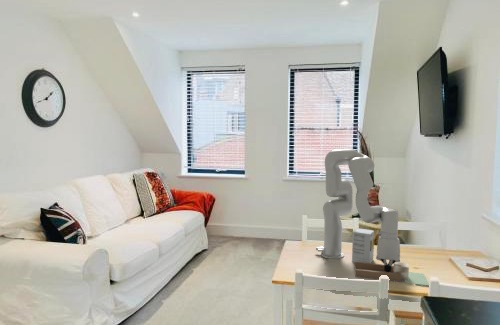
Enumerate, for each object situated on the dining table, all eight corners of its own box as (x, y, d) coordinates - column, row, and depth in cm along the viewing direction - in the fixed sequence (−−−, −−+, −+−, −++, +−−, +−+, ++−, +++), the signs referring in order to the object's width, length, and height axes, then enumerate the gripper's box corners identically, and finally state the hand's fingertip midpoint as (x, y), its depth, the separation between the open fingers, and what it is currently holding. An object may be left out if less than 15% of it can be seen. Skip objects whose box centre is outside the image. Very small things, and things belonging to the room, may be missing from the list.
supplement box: (369, 266, 183) (370, 234, 181) (351, 262, 188) (352, 231, 186) (373, 260, 191) (374, 230, 190) (356, 257, 196) (357, 227, 194)
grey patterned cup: (394, 278, 166) (394, 265, 165) (393, 273, 171) (393, 261, 171) (408, 280, 164) (408, 267, 164) (406, 275, 170) (407, 263, 169)
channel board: (355, 278, 167) (355, 270, 167) (355, 267, 181) (355, 260, 180) (429, 286, 158) (430, 278, 158) (423, 274, 172) (424, 267, 172)
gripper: (372, 235, 167) (371, 273, 168) (407, 238, 163) (405, 277, 164) (371, 231, 174) (370, 268, 175) (404, 234, 170) (403, 271, 171)
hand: (387, 272), depth 170 cm, fingers closed
